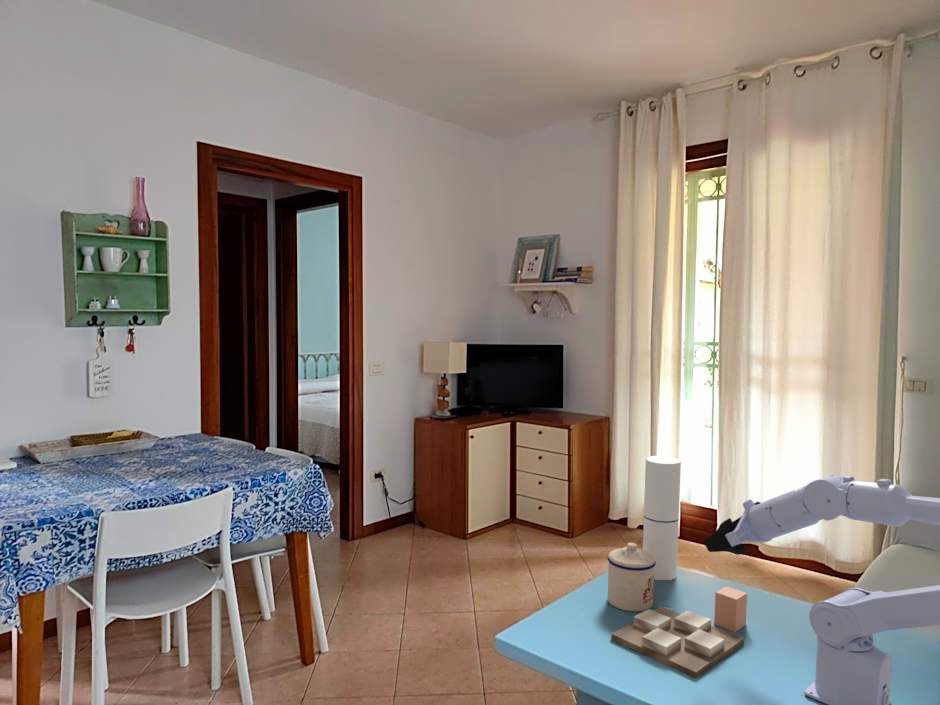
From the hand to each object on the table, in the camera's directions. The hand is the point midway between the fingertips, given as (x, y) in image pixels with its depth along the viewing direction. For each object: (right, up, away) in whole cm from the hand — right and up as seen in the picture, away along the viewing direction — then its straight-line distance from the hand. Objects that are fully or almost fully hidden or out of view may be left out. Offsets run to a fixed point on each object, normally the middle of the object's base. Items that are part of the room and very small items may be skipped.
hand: (719, 538), depth 118 cm
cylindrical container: (-3, -15, +28) cm, 32 cm away
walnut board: (-8, -18, -1) cm, 19 cm away
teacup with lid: (-12, -16, +15) cm, 25 cm away
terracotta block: (+4, -17, +5) cm, 18 cm away
